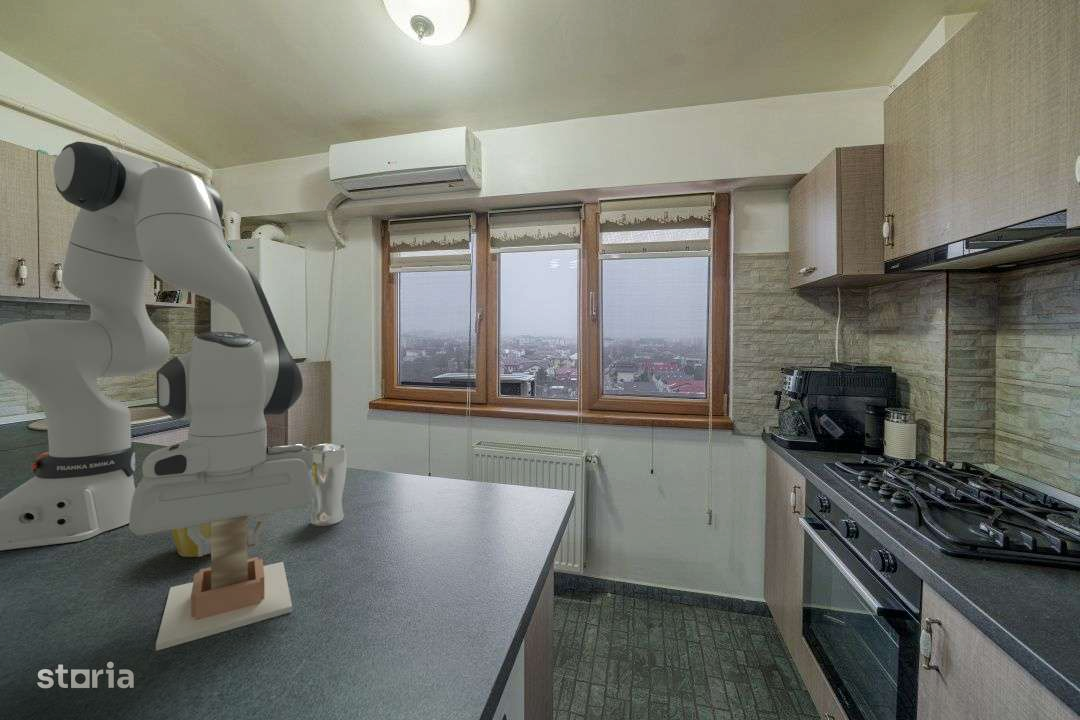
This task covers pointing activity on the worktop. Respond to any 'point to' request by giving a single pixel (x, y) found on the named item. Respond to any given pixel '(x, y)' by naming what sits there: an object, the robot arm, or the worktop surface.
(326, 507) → the beer glass
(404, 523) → the worktop surface
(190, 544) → the plant pot
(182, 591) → the framed base plate
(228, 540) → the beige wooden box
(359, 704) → the worktop surface
